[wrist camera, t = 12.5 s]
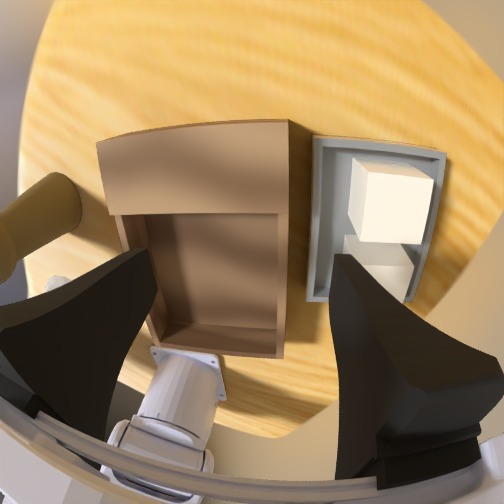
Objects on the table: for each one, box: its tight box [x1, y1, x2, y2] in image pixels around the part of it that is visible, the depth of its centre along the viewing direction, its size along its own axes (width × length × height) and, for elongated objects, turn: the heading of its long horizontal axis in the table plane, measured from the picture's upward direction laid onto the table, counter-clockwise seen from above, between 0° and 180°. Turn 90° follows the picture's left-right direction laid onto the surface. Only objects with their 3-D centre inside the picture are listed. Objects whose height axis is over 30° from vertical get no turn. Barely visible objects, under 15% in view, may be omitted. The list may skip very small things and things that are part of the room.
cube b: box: [348, 157, 434, 245], centre depth 16 cm, size 4×4×4 cm
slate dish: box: [305, 135, 447, 302], centre depth 18 cm, size 12×9×2 cm
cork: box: [0, 172, 82, 284], centre depth 17 cm, size 6×6×11 cm
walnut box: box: [96, 119, 289, 359], centre depth 20 cm, size 18×12×4 cm, turn 2°
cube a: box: [343, 235, 414, 304], centre depth 18 cm, size 4×4×4 cm
